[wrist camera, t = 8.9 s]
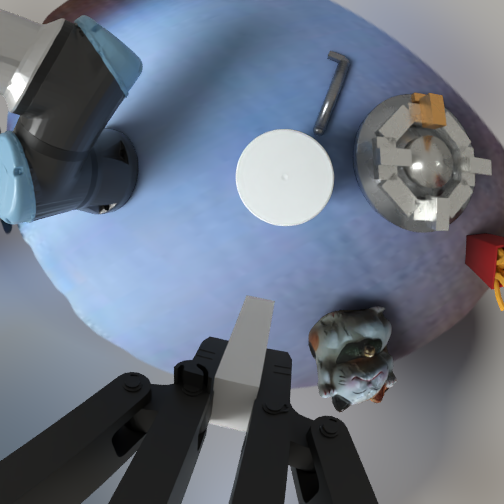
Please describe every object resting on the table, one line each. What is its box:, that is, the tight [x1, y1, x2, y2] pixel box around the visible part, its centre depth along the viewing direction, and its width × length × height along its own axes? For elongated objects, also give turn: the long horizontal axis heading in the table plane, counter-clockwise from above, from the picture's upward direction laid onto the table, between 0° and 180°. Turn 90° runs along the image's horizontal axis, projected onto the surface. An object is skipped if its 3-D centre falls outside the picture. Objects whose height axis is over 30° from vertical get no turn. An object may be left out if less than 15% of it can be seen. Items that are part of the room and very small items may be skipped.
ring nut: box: [372, 93, 492, 231], centre depth 29 cm, size 16×16×6 cm
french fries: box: [465, 233, 504, 311], centre depth 29 cm, size 9×8×15 cm
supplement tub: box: [236, 129, 334, 226], centre depth 32 cm, size 10×10×15 cm
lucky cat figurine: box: [309, 306, 397, 412], centre depth 38 cm, size 15×12×14 cm
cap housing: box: [353, 93, 474, 232], centre depth 32 cm, size 20×20×6 cm
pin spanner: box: [313, 51, 350, 136], centre depth 34 cm, size 14×3×2 cm, turn 159°
